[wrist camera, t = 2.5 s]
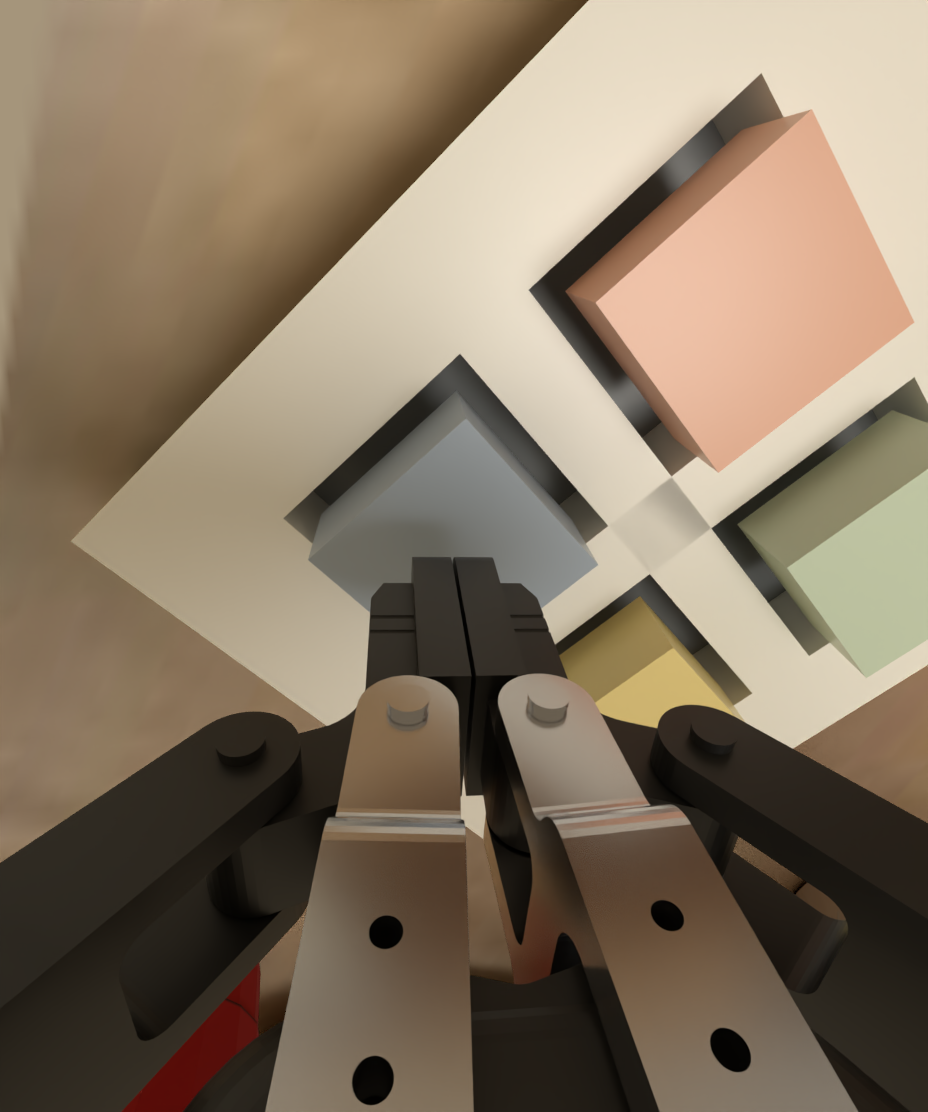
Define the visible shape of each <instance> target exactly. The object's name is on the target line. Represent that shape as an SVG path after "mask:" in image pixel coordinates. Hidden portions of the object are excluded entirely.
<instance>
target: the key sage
mask: <svg viewBox="0 0 928 1112" xmlns="http://www.w3.org/2000/svg"><path fill="white" fill-rule="evenodd" d="M737 525H738V526H739V527H740V529H741V530H742V531H743V533H744V534H745V535H746V537H747V538H748V539H749V541H750V542H751V543H752V545H753V546H754V548H755V549H756V550H757V552H758V553H759V554H760V556H761V557H762V558H763V560H764V561H765V562H766V564H767V565H768V566H769V568H770V569H771V571H772V572H773V573H774V575H775V576H776V577H777V579H778V580H779V581H780V583H781V584H782V585H783V587H784V588H785V589H786V591H787V592H788V594H789V595H790V596H791V598H792V599H793V600H794V602H795V603H796V604H797V606H798V607H799V608H800V610H801V611H802V612H803V614H804V615H805V617H806V618H807V619H808V621H809V622H810V623H811V625H812V626H813V627H814V628H815V629H816V630H817V631H818V632H819V633H820V634H821V635H822V636H823V637H824V638H825V639H827V640H828V641H829V642H830V643H831V644H832V645H833V646H834V647H835V648H836V649H837V650H838V651H839V652H840V653H841V654H842V655H843V656H844V657H845V658H846V659H847V660H848V661H849V662H850V663H851V664H852V665H853V666H854V667H855V668H857V669H858V670H859V671H860V672H861V673H862V674H863V675H864V676H865V677H866V678H868V677H869V676H871V675H872V674H874V673H875V672H877V671H879V670H880V669H882V668H883V667H885V666H887V665H888V664H890V663H891V662H893V661H894V660H896V659H898V658H899V657H901V656H902V655H904V654H906V653H907V652H909V651H910V650H912V649H913V648H915V647H917V646H918V645H920V644H921V643H923V642H925V641H926V640H928V423H926V422H923V421H921V420H918V419H915V418H912V417H910V416H907V415H904V414H902V413H899V412H896V411H893V410H892V411H890V412H889V413H887V414H886V415H885V416H883V417H882V418H881V419H879V420H878V421H877V422H875V423H874V424H873V425H871V426H870V427H868V428H867V429H866V430H864V431H863V432H862V433H860V434H859V435H858V436H856V437H855V438H854V439H852V440H851V441H850V442H848V443H847V444H845V445H844V446H843V447H841V448H840V449H839V450H837V451H836V452H835V453H833V454H832V455H831V456H829V457H828V458H826V459H825V460H824V461H822V462H821V463H820V464H818V465H817V466H816V467H814V468H813V469H812V470H810V471H809V472H807V473H806V474H805V475H803V476H802V477H801V478H799V479H798V480H797V481H795V482H794V483H793V484H791V485H790V486H788V487H787V488H786V489H784V490H783V491H782V492H780V493H779V494H778V495H776V496H775V497H774V498H772V499H771V500H769V501H768V502H767V503H765V504H764V505H763V506H761V507H760V508H759V509H757V510H756V511H755V512H753V513H752V514H750V515H749V516H748V517H746V518H745V519H744V520H742V521H741V522H740V523H738V524H737Z"/></svg>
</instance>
